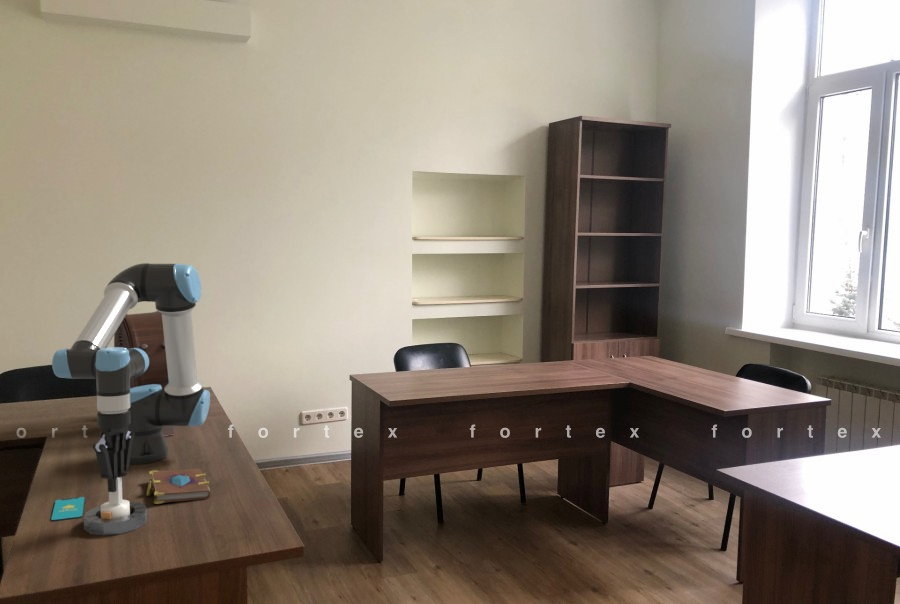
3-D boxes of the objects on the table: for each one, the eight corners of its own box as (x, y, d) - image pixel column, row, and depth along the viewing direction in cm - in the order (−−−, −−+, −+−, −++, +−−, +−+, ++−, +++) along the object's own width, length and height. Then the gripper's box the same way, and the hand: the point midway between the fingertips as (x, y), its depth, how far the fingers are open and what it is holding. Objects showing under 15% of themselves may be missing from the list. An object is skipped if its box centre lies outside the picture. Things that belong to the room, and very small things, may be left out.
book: (200, 475, 222) (201, 459, 222) (211, 503, 200) (212, 485, 200) (142, 479, 215) (143, 463, 215) (147, 508, 193) (148, 490, 192)
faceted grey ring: (110, 510, 190) (110, 499, 189) (157, 516, 187) (157, 504, 187) (71, 531, 176) (71, 519, 176) (122, 537, 173) (122, 525, 173)
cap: (113, 516, 186) (112, 497, 185) (137, 518, 185) (136, 499, 184) (94, 529, 178) (93, 509, 178) (118, 531, 177) (117, 511, 177)
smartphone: (50, 519, 182) (55, 499, 195) (50, 522, 182) (55, 502, 195) (82, 516, 185) (85, 496, 198) (82, 519, 185) (85, 499, 198)
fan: (186, 437, 258) (185, 316, 254) (132, 444, 248) (130, 318, 244) (161, 412, 292) (159, 305, 288) (112, 418, 282) (110, 307, 278)
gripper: (117, 403, 186) (119, 492, 188) (82, 415, 173) (84, 510, 175) (143, 405, 184) (145, 495, 186) (109, 417, 172) (111, 513, 174)
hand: (115, 502), depth 181 cm, fingers closed
